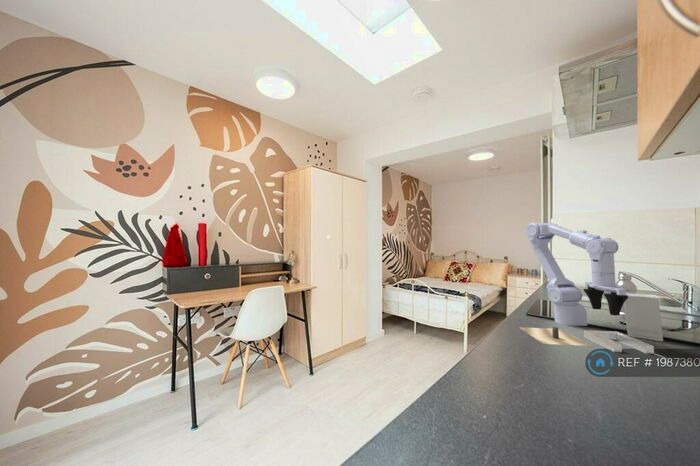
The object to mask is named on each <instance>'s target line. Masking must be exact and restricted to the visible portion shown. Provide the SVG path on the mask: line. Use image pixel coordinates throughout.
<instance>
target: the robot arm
mask: <svg viewBox="0 0 700 466" xmlns="http://www.w3.org/2000/svg"><path fill="white" fill-rule="evenodd" d="M525 234H526V237H527V238H528V240H529V243H530V246H531V248H532V251H533V252H534V254H535V256H536V259H537V260H538V262H539V264H540V266H541V268H542V270H543V271H544V273H545V275H546V277H547V279H548V281H549V282H548V284H547V285H546V287H545V288H546V289H547V294H548V297H549V299H550V301H551V302H552V303H553V311H554V312H553V314H554V322H555V323H557V324H560V325H562V326H563V325H564V326H570V327H571V326H572V327H575V326H576V327H577V326H581V327H582V326H585V327H587V326H588V314H587V309H586V308H585V306H584V305H583V304H582V303H579V302H580V301H582V299H583V292H584V293H585V295H586V297H587V298H588V300H589V302H590V305H591V308H592V309H593V310H601V309H602V302H603V301H602V300H603V296H604V297H605V299H606V302H607V305H608V306H607V307H608V311H609V314H610V315H611V316H616V315H618V316H619V315H620V311H621V308H622V306H623V304H624V302H625V301H626V300H627V299H628V295H626V289H623V288H620V287H617V286H616V271H615V270H616V269H615V268H616V267H615V254H616V253H617V252H618V250H619V243H618V242H617V241H616V240H615V239H612V238H611V237H605V238H602V237H601V235H598V234H592V233H588V231H587V230H585V229H581V230H576V231H573V230H571V229H568V228H566V227H563V226H561V225H559V224H557V223H553V222H530V223H529V224H527V227H526V231H525ZM555 236H557V237H561V238H564V239H566V240H569V243H570V244H571V245H574V246H577V247H578V248H581V249H583V250H585V251H586V253H588V256H589V259H590V261H591V262H590V263H591V264H590V265H591V277H592V279H591V280H592V281H586V282H584V286H585V288H583V292H582V290H581V289H580V288H579V287H577V286H576V285H575V283H574V282H573V281H572V280H570V279H568V278H567V277H566V276H565V275H564V273H563V271H562V269H561V267H560V266H559V264H558V261H556V258H555V257H554V255H553V253H552V251H551V249H550V248H549V246H548V244H549V243H550V242H551V241H552V240H553V239H554V237H555Z"/></svg>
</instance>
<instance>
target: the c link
mask: <svg viewBox="0 0 700 466" xmlns="http://www.w3.org/2000/svg"><path fill="white" fill-rule="evenodd" d="M583 338H585V339H587V340H590V341H591V342H593V343H595V344H597V345H600V346H601V347H603V348H605V349H608V350H609V351H612V352H613V353H622V352H623V349H622V348H623V347H622V344H624V345H625V346H627V347H628V346H629V347H631V348H633V349H635V350H638V351H639V352H641V353H643V354H647V355H649V354H650V355H651V354H652V355H655V354H654V353H655V348H654V345H652V344H649V343H647V342H644V341H642V340H639V339H636V337H630V336H628V334H625V333H622V332H619V331H616V330H615V331H611V330H585V329H584V330H583Z"/></svg>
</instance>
